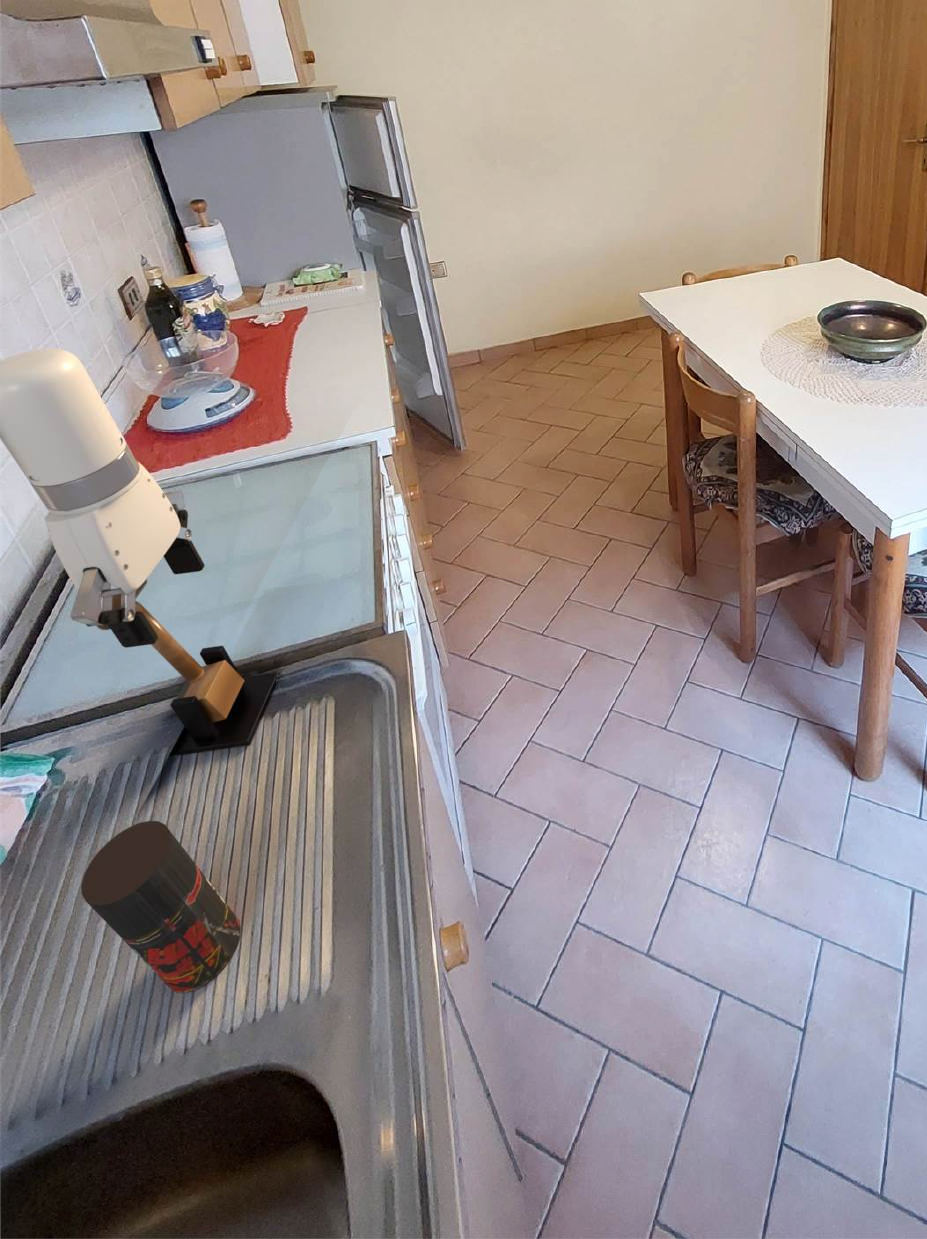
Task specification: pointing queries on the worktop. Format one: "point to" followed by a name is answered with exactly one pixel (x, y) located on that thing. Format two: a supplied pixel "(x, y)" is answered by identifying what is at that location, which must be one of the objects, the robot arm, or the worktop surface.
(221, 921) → the deodorant
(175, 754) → the brush stand
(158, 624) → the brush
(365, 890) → the worktop surface
